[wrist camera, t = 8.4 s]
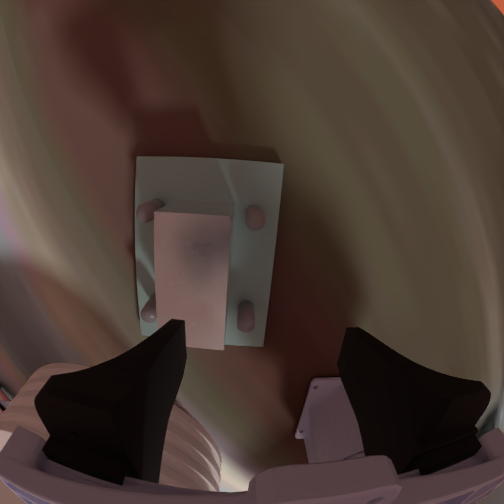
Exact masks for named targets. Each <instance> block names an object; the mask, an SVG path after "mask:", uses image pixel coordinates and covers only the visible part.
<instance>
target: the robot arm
mask: <svg viewBox="0 0 504 504" xmlns="http://www.w3.org/2000/svg"><path fill="white" fill-rule="evenodd" d="M186 358H187V354H186V333H185V320H178V319H171V320H169V321H168V322H167V323H166V324H164V325H163V326H162V327H161V328H159V329H158V330H157V331H156V332H155V333H153V334H152V335H151V336H149V337H148V338H147V339H145V340H144V341H142V342H141V343H139V344H138V345H137V346H135V347H134V348H132V349H130V350H129V351H127V352H125V353H123V354H121V355H120V356H118V357H116V358H113V359H111V360H109V361H106V362H104V363H101V364H99V365H96V366H93V367H90V368H87V369H83V370H79V371H75V372H70V373H64V374H57V375H52V376H51V377H50V378H49V379H48V381H47V382H46V383H45V384H44V386H43V387H42V388H41V390H40V391H39V392H38V394H37V395H36V397H35V399H34V404H35V408H36V411H37V413H38V415H39V417H40V419H41V421H42V423H43V424H44V426H45V428H46V429H47V431H48V433H49V434H50V436H49V438H48V440H47V442H46V441H45V440H44V439H43V438H42V437H40V436H39V435H37V434H35V433H33V432H31V431H29V430H26V429H24V428H22V427H20V426H17V427H16V429H15V430H14V432H13V433H12V435H11V436H10V438H9V439H8V441H7V442H6V444H5V446H4V447H3V449H2V450H1V452H0V480H1V481H2V482H3V483H4V484H5V485H6V486H7V487H8V488H10V490H11V491H12V492H14V493H15V494H16V495H17V496H18V497H19V498H20V499H21V500H23V501H24V502H25V503H27V504H475V503H477V502H478V501H480V500H482V499H483V498H485V497H487V496H488V495H489V494H491V493H492V492H493V491H494V490H495V489H496V488H497V487H498V486H499V485H501V484H502V482H504V434H503V433H502V432H501V430H500V429H499V428H496V429H494V430H492V431H490V432H488V433H486V434H484V435H482V436H481V437H480V438H479V439H477V437H476V436H475V434H476V433H477V432H478V430H477V428H476V427H475V424H476V423H477V421H478V420H479V418H480V417H481V416H482V414H483V413H484V411H485V409H486V408H487V406H488V404H489V401H490V398H491V393H490V391H489V390H488V389H487V387H486V386H485V385H484V384H483V383H482V382H481V381H474V380H467V379H461V378H457V377H453V376H449V375H446V374H442V373H439V372H436V371H434V370H431V369H428V368H426V367H424V366H422V365H419V364H417V363H415V362H413V361H411V360H409V359H407V358H406V357H404V356H402V355H401V354H399V353H397V352H396V351H394V350H393V349H391V348H390V347H388V346H387V345H385V344H384V343H382V342H381V341H379V340H378V339H376V338H375V337H373V336H372V335H371V334H369V333H367V332H366V331H364V330H363V329H361V328H359V327H357V328H347V329H346V333H345V337H344V341H343V345H342V348H341V352H340V355H339V359H338V362H337V364H338V368H339V373H340V377H329V378H314V379H313V380H312V381H311V383H310V387H309V390H308V394H307V397H306V401H305V404H304V407H303V411H302V414H301V417H300V420H299V423H298V426H297V430H296V433H295V438H297V439H304V442H305V447H306V452H307V457H308V464H291V465H285V466H278V467H272V468H270V469H267V470H265V471H262V472H260V473H258V474H256V475H255V477H254V478H253V479H252V480H251V481H250V482H249V488H248V491H243V492H216V491H205V490H196V489H188V488H181V487H175V486H168V485H163V484H159V477H160V469H161V461H162V454H163V448H164V442H165V436H166V431H167V426H168V421H169V417H170V413H171V410H172V407H173V404H174V401H175V398H176V396H177V393H178V390H179V387H180V384H181V381H182V378H183V374H184V369H185V364H186ZM314 386H316V387H314Z"/></svg>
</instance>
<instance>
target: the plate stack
mask: <svg viewBox="0 0 504 504" xmlns="http://www.w3.org/2000/svg"><path fill="white" fill-rule="evenodd" d="M87 368H90V367H88V366H84V365H79V364H72V363H53V364H48V365H45V366H42V367H40V368H38V369H37V370H36V371H35V372H34V373H33V374H32V375H31V377H30V378H29V379H28V381H27V382H26V383H25V384H24V385H23V387H22V388H21V389H20V390H19V392H18V394H17V395H16V396H15V397H14V398H13V399H12V401H11V402H10V403H9V405H8V408H6V409H5V410H4V411H3V413H2V414H1V415H0V452H1V450H2V449H3V447H4V446H5V444H6V442H7V441H8V439H9V438H10V436H11V435H12V433H13V432H14V430H15V429H16V427H17V426H20V427H22V428H24V429H26V430H29V431H31V432H33V433H35V434H37V435H39V436H40V437H42V438H43V439H44V440H45V441H46V442H47V440H48V438H49V436H50V434H49V433H48V431H47V429H46V428H45V426H44V424H43V423H42V421H41V419H40V417H39V415H38V413H37V411H36V408H35V404H34V399H35V397H36V395H37V394H38V392H39V391H40V390H41V388H42V387H43V386H44V384H45V383H46V382H47V381H48V379H49V378H50V377H51V376H52V375H57V374H64V373H70V372H75V371H79V370H83V369H87ZM220 471H221V453H220V450H219V448H218V446H217V444H216V442H215V441H214V439H213V438H212V437H211V435H210V434H209V433H208V432H207V431H206V430H205V429H204V428H203V427H202V426H201V425H200V424H199V423H198V422H197V421H196V420H194V419H193V418H192V417H191V416H190V415H188V414H187V413H186V412H184V411H183V410H181V409H180V408H178V407H177V406H175V405H174V404H173V407H172V410H171V413H170V417H169V421H168V426H167V431H166V436H165V442H164V448H163V454H162V461H161V469H160V477H159V484H163V485H168V486H175V487H181V488H188V489H196V490H205V491H216V492H219V487H220Z"/></svg>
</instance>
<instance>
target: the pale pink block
mask: <svg viewBox="0 0 504 504" xmlns="http://www.w3.org/2000/svg"><path fill="white" fill-rule="evenodd" d="M234 215H235V203H225V202H210V201H194V200H175V201H173V202H171V203H169V204H167V205H165V206H163V207H162V208H160V209H158V210H156V211H154V268H155V294H156V311H157V325H158V329H159V328H161V327H162V326H163V325H164V324H166V323H167V322H168V321H169V320H171V319H178V320H185V333H186V347H194V348H204V349H215V350H224V344H225V335H226V326H227V317H228V304H229V288H230V272H231V257H232V242H233V228H234Z"/></svg>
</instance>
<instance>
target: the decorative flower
mask: <svg viewBox="0 0 504 504" xmlns="http://www.w3.org/2000/svg"><path fill="white" fill-rule="evenodd" d="M0 400H4V401H11V400H10V399H9V398H8V396H7V395H6V394H5V393H4V392H3V391H2V390H1V389H0ZM2 413H3V410H2V409H1V408H0V415H1V414H2Z"/></svg>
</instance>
